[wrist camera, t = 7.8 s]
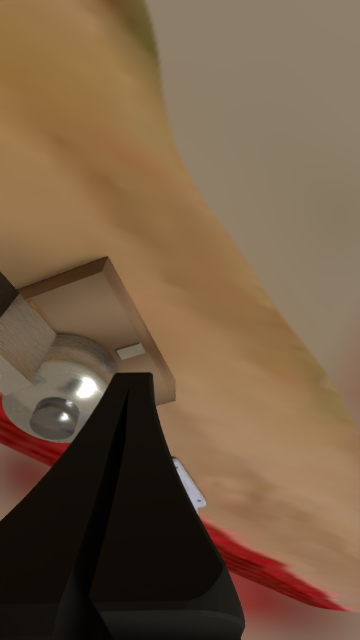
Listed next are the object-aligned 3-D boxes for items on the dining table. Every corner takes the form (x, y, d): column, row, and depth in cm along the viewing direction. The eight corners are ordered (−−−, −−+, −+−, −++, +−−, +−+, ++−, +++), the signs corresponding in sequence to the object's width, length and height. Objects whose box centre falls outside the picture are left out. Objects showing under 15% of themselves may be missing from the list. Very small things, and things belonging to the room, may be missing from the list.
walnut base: (175, 380, 25) (175, 402, 23) (63, 411, 27) (55, 434, 25) (108, 256, 19) (101, 273, 17) (-31, 307, 21) (-51, 328, 19)
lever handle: (136, 384, 22) (129, 441, 18) (64, 410, 23) (44, 467, 20) (-5, 208, 15) (-62, 244, 11) (-96, 261, 16) (-170, 307, 13)
